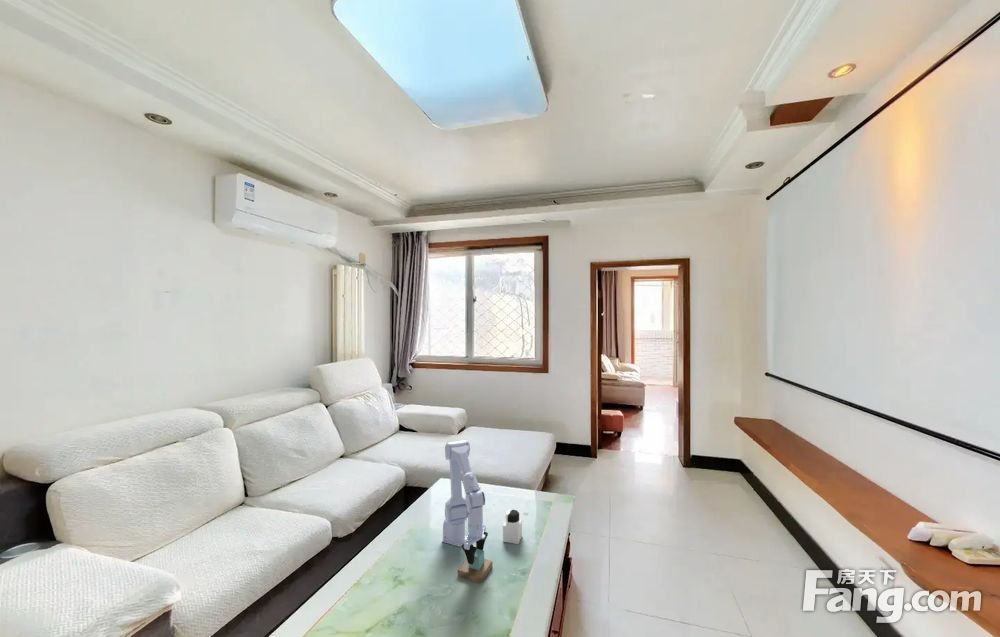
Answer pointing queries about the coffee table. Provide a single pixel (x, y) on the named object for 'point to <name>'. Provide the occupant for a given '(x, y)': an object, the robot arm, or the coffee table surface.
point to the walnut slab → (475, 571)
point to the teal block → (478, 560)
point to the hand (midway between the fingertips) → (475, 557)
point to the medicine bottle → (512, 527)
